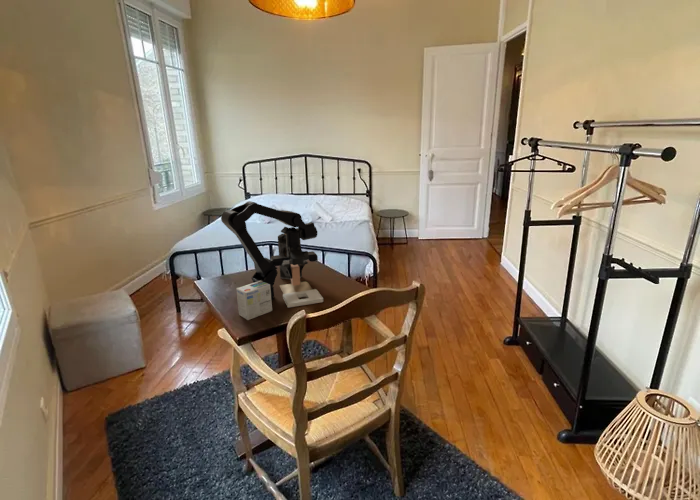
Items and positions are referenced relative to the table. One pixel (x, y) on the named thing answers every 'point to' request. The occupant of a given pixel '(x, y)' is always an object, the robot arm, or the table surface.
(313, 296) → the white slotted plate
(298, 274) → the plug
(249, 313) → the light bulb box
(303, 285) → the pad
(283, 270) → the electronic device
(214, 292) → the table surface
